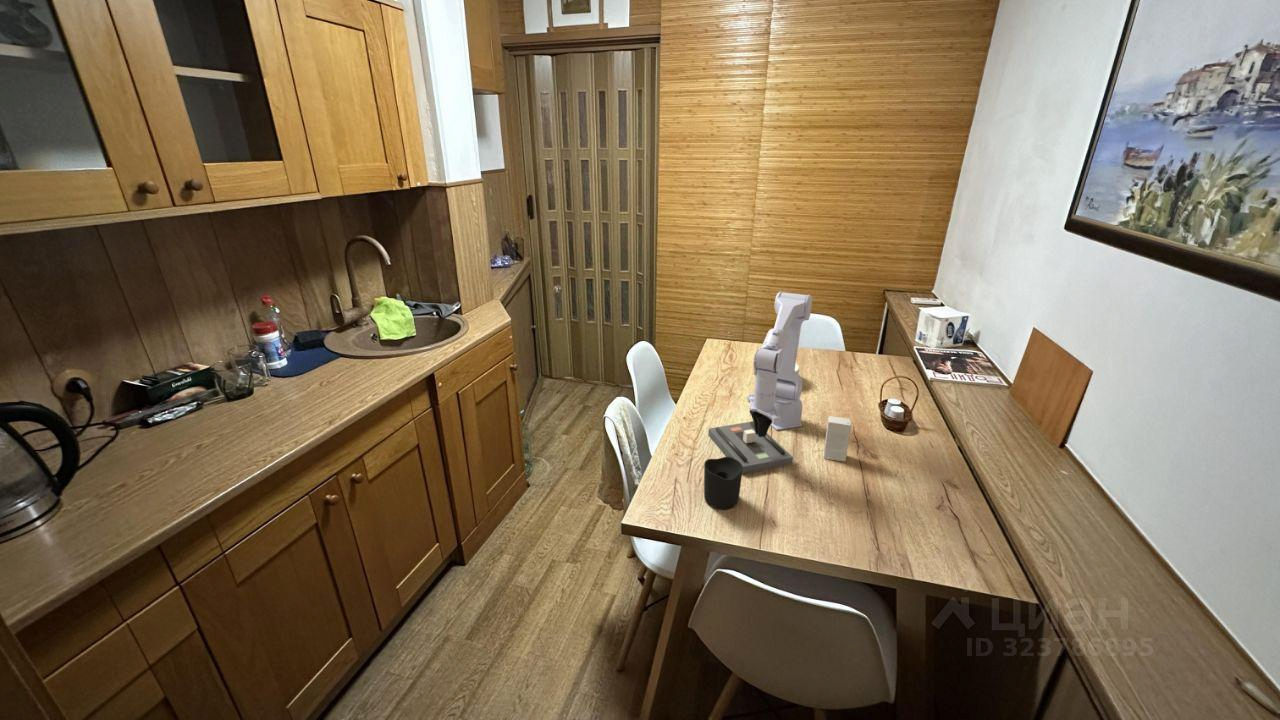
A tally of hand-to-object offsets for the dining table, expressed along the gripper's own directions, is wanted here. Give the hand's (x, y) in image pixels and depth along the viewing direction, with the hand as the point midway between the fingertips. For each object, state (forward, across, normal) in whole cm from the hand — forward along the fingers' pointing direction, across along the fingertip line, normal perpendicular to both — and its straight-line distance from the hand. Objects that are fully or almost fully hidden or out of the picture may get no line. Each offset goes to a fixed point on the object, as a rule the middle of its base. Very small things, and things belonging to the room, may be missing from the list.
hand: (760, 434), depth 139 cm
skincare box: (+9, +5, +22) cm, 24 cm away
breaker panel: (+8, -6, 0) cm, 10 cm away
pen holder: (+9, +13, -18) cm, 24 cm away
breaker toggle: (+5, -6, 0) cm, 8 cm away
